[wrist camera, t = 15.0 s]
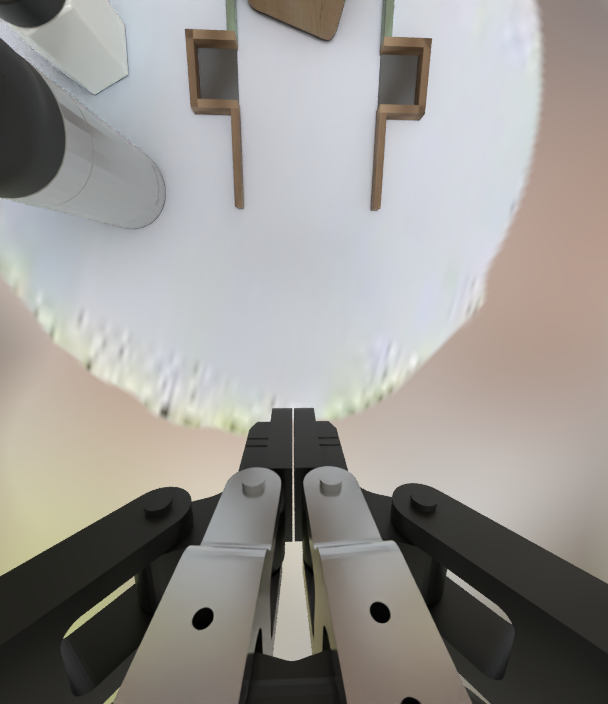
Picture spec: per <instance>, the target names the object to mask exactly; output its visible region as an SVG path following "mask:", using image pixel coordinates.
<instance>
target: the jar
mask: <svg viewBox="0 0 608 704" xmlns="http://www.w3.org/2000/svg"><path fill="white" fill-rule="evenodd" d="M0 21H1V22H3V23H4V24H5V25H6V26H7V27H8V28H10V29H11V30H12V31H13V32H14V33H15V34H17V35H18V36H19V37H20V38H21V39H22V40H24V41H25V42H26V43H27V44H28V45H30V46H31V47H32V48H33V49H34V50H35V51H37V52H38V53H39V54H40V55H41V56H42V57H44V58H45V59H46V60H47V61H48V62H49V63H51V64H52V65H53V66H54V67H55V68H57V69H58V70H59V71H61V72H62V73H64V74H65V75H67V76H68V77H69V78H71V79H72V80H74V81H75V82H76V83H78V84H79V85H81V86H82V87H84V88H85V89H86V90H88V91H89V92H91V93H92V94H94V95H95V94H97V93H99V92H100V91H102V90H104V89H105V88H107V87H108V86H110V85H112V84H113V83H115V82H117V81H118V80H120V79H122V78H123V77H125V76H127V75H128V64H127V50H126V36H125V25H124V23H123V22H122V20H121V19H120V17H119V16H118V14H117V13H116V12H115V10H114V9H113V7H112V6H111V4H110V3H109V1H108V0H0Z"/></svg>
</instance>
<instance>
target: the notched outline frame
mask: <svg viewBox="0 0 608 704" xmlns="http://www.w3.org/2000/svg"><path fill="white" fill-rule="evenodd" d="M393 13H394V0H383V12H382V29H381V46H380V56H381V60H380V77H379V93H378V110H377V113H376V130H375V146H374V163H373V180H372V197H371V211H377V210H379V209H380V207H381V192H382V177H383V162H384V147H385V132H386V119H391V120H420V119H421V118H422V117H423V115H424V114H425V107H426V97H427V86H428V75H429V65H430V54H431V44H432V38H408V37H392V27H393ZM226 15H227V31H225V30H199V29H185V36H186V50H187V63H188V77H189V90H190V104H191V108H192V110H193V111H194V113H195V114H211V115H231V125H232V147H233V169H234V191H235V206H236V207H237V208H244V198H243V173H242V147H241V121H240V106H239V92H238V67H237V50H238V44H237V18H236V0H226ZM198 53H199V60H198ZM417 61H418V64H417ZM199 68H200V75H199ZM416 73H417V76H416ZM200 83H201V90H200ZM415 84H416V87H415ZM414 96H415V99H414ZM201 98H202V99H201Z"/></svg>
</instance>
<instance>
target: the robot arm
mask: <svg viewBox="0 0 608 704" xmlns="http://www.w3.org/2000/svg"><path fill="white" fill-rule="evenodd" d="M0 198H3V199H7V200H11V201H15V202H20V203H24V204H28V205H33V206H37V207H41V208H45V209H49V210H53V211H57V212H61V213H65V214H69V215H73V216H77V217H82V218H86V219H90V220H94V221H98V222H102V223H105V224H110V225H114V226H118V227H122V228H127V229H137V228H142V227H144V226H147V225H149V224H150V223H151V222H153V221H154V220H155V219H156V218H157V217H158V215H159V214H160V212H161V210H162V208H163V205H164V201H165V186H164V181H163V178H162V175H161V173H160V171H159V169H158V168H157V166H156V164H155V163H154V162H153V161H152V160H151V159H150V158H149V157H148V156H147V155H146V154H145V153H143V152H142V151H141V150H140V149H138V148H137V147H136V146H134V145H133V144H132V143H131V142H130V141H128V140H127V139H126V138H125V137H123V136H122V135H121V134H120V133H118V132H117V131H116V130H114V129H113V128H112V127H111V126H109V125H108V124H107V123H106V122H104V121H103V120H102V119H100V118H99V117H98V116H97V115H95V114H94V113H93V112H92V111H90V110H89V109H88V108H87V107H85V106H84V105H83V104H81V103H80V102H79V101H78V100H76V99H75V98H74V97H73V96H71V95H70V94H69V93H67V92H66V91H65V90H64V89H62V88H61V87H60V86H59V85H57V84H56V83H54V82H53V81H52V80H51V79H49V78H48V77H47V76H46V75H44V74H43V73H42V72H40V71H39V70H38V69H37V68H35V67H34V66H33V65H32V64H30V63H29V62H28V61H26V60H25V59H24V58H23V57H21V56H20V55H19V54H17V53H16V52H15V51H14V50H13V49H12V48H11V47H10V46H9V45H8V44H7V43H5V42H4V41H3V40H2V39H1V38H0ZM294 503H295V504H294V505H295V507H294V511H295V541H302V544H303V545H302V546H303V578H304V587H305V595H306V604H307V612H308V621H309V630H310V638H311V648H312V655H311V656H308V657H306V658H303V659H300V660H297V661H286V660H283V659H279V658H276V657H273V650H274V641H275V632H276V623H277V614H278V605H279V595H280V587H281V578H282V562H283V560H284V555H285V542H292V408H272V415H271V422H257V423H256V424H255V425H254V426H253V427H252V428H251V429H250V430H249V434H248V437H247V441H246V445H245V449H244V453H243V456H242V460H241V464H240V468H239V472H237V473H236V474H234V475H233V476H232V477H231V478H230V479H229V480H228V482H227V483H226V485H225V488H224V491H223V492H221V493H219V494H217V495H215V496H212V497H209V498H205V499H201V500H197V501H193V502H192V501H191V496H190V494H189V493H188V492H187V491H186V490H184V489H181V488H178V487H164V488H159V489H156V490H152V491H150V492H148V493H146V494H144V495H142V496H140V497H139V498H137V499H135V500H133V501H131V502H130V503H128V504H126V505H124V506H123V507H121V508H119V509H118V510H116V511H114V512H112V513H110V514H109V515H107V516H105V517H103V518H102V519H100V520H98V521H96V522H95V523H93V524H91V525H89V526H88V527H86V528H84V529H82V530H81V531H79V532H77V533H75V534H74V535H72V536H70V537H69V538H67V539H65V540H63V541H61V542H60V543H58V544H56V545H54V546H53V547H51V548H49V549H47V550H46V551H44V552H42V553H40V554H39V555H37V556H35V557H33V558H32V559H30V560H28V561H26V562H25V563H23V564H21V565H20V566H18V567H16V568H14V569H12V570H11V571H9V572H7V573H6V574H4V575H2V576H0V704H103V703H104V702H105V701H106V700H107V699H108V698H109V697H110V696H111V695H112V694H113V693H114V692H115V691H116V690H117V689H118V688H119V687H120V686H121V687H120V689H119V691H118V693H117V695H116V698H115V699H114V702H112V703H111V704H486V703H485V702H484V701H483V700H481V699H480V698H479V697H478V696H476V694H474V693H473V692H472V691H471V690H469V689H468V688H466V687H465V686H464V685H463V682H462V680H461V678H460V676H459V674H460V675H461V676H462V677H464V678H465V679H466V680H467V681H468V682H469V683H470V684H471V685H472V686H473V687H474V688H475V689H476V690H477V691H478V692H479V693H480V694H481V695H482V696H483V697H484V698H486V699H487V700H488V701H489V702H490V703H491V704H608V584H607V583H605V582H603V581H602V580H600V579H598V578H596V577H594V576H592V575H590V574H589V573H587V572H585V571H583V570H582V569H580V568H578V567H576V566H574V565H573V564H571V563H569V562H567V561H565V560H563V559H562V558H560V557H558V556H556V555H554V554H553V553H551V552H549V551H547V550H545V549H543V548H542V547H540V546H538V545H536V544H535V543H533V542H531V541H529V540H527V539H525V538H523V537H522V536H520V535H518V534H516V533H515V532H513V531H511V530H509V529H507V528H506V527H504V526H502V525H500V524H498V523H496V522H494V521H493V520H491V519H489V518H487V517H486V516H484V515H482V514H480V513H478V512H477V511H475V510H473V509H471V508H469V507H468V506H466V505H464V504H462V503H460V502H459V501H457V500H455V499H453V498H451V497H449V496H448V495H446V494H444V493H442V492H440V491H438V490H436V489H435V488H432V487H430V486H427V485H423V484H417V483H410V484H404V485H401V486H399V487H397V488H396V489H395V491H394V492H393V496H392V497H388V496H384V495H379V494H375V493H371V492H369V491H366V490H364V489H362V488H361V487H359V484H358V482H357V480H356V478H355V477H354V476H353V475H352V474H351V473H350V472H348V469H347V466H346V462H345V458H344V454H343V452H342V447H341V444H340V440H339V438H338V433H337V429H336V428H335V427H334V426H333V425H332V424H331V423H330V422H329V421H316V420H315V413H314V408H294ZM447 569H449V570H450V571H451V572H453V573H454V574H455V575H457V576H458V577H459V578H461V579H462V580H464V581H465V582H466V583H468V584H469V585H470V586H472V587H473V588H475V589H476V590H477V591H479V592H480V593H481V594H483V595H484V596H485V597H487V598H488V599H490V600H491V601H492V602H494V603H495V604H497V605H498V606H499V607H500V608H501V609H502V610H503V611H504V612H505V613H506V615H507V616H508V617H509V619H510V621H511V622H512V624H510V623H508V622H507V621H505V620H504V619H503V618H501V617H500V616H499V615H497V614H496V613H495V612H493V611H492V610H491V609H489V608H488V607H486V606H485V605H484V604H483V603H481V602H480V601H479V600H477V599H476V598H475V597H473V596H472V595H470V594H469V593H468V592H467V591H465V590H464V589H463V588H461V587H460V586H459V585H457V584H456V583H454V582H453V581H452V580H451V579H449V578H448V577H447V576H446V572H447ZM133 576H134V577H135V584H134V585H133V586H131V587H130V588H129V589H128V590H126V591H125V592H124V593H123V594H121V595H120V596H119V597H117V598H116V599H115V600H114V601H112V602H111V603H110V604H108V605H107V606H106V607H105V608H103V609H102V610H101V611H100V612H98V613H97V614H96V615H94V616H93V617H92V618H91V619H90V620H88V621H87V622H85V623H84V624H83V625H82V626H80V627H79V628H78V629H76V630H75V631H74V632H73V633H71V634H70V635H69V636H67V637H66V638H64V639H63V637H64V635H65V634H66V632H67V631H68V629H69V628H70V627H71V626H72V624H73V623H74V622H75V621H76V620H77V619H78V618H79V617H80V616H82V615H83V614H85V613H86V612H87V611H89V610H90V609H91V608H92V607H94V606H95V605H96V604H98V603H99V602H100V601H102V600H103V599H104V598H106V597H107V596H108V595H110V594H111V593H112V592H113V591H115V590H116V589H117V588H119V587H120V586H121V585H123V584H124V583H125V582H127V581H128V580H129V579H131V578H132V577H133ZM458 673H459V674H458Z"/></svg>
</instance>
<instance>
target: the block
mask: <svg viewBox="0 0 608 704" xmlns="http://www.w3.org/2000/svg"><path fill="white" fill-rule="evenodd" d="M248 2H249V4H250V5H251V6H252V7H253V8H254V9H255V10H258V11H260V12H262V13H265V14H267V15H269V16H271V17H274V18H276V19H278V20H281V21H283V22H285V23H287V24H290V25H292V26H294V27H297V28H299V29H301V30H304V31H306V32H308V33H310V34H313V35H315V36H317V37H320V38H322V39H324V40H330V39H331V38H332V37H333V35H334V34H335V32H336V31H337V27H338V24H339V20H340V17H341V13H342V10H343V7H344V3H345V0H248Z"/></svg>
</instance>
